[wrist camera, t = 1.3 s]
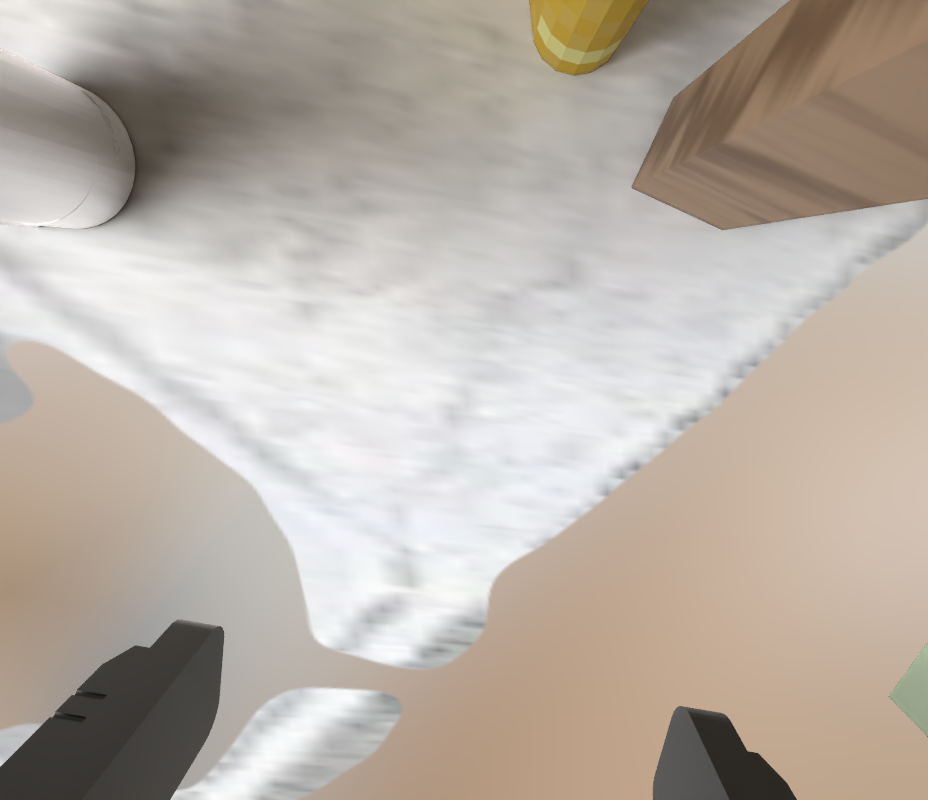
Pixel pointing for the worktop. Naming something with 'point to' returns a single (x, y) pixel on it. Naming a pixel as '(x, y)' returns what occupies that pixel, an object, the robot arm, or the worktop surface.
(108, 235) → the worktop surface
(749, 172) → the tall brown wooden column
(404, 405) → the worktop surface
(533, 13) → the book
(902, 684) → the block
